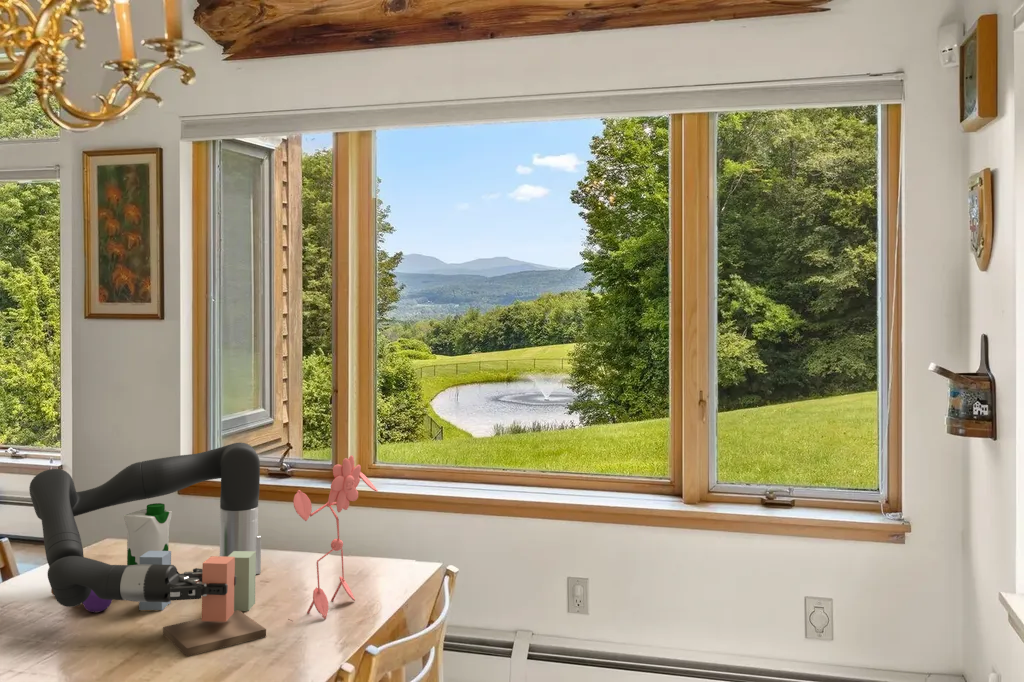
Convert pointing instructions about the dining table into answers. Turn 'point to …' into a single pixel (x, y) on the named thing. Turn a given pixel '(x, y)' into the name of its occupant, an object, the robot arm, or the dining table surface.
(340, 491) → the figurine
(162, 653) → the dining table surface
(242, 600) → the olive block
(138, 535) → the milk carton
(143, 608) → the blue grey block
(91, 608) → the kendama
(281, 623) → the dining table surface
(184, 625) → the walnut board
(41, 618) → the dining table surface
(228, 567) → the red block
